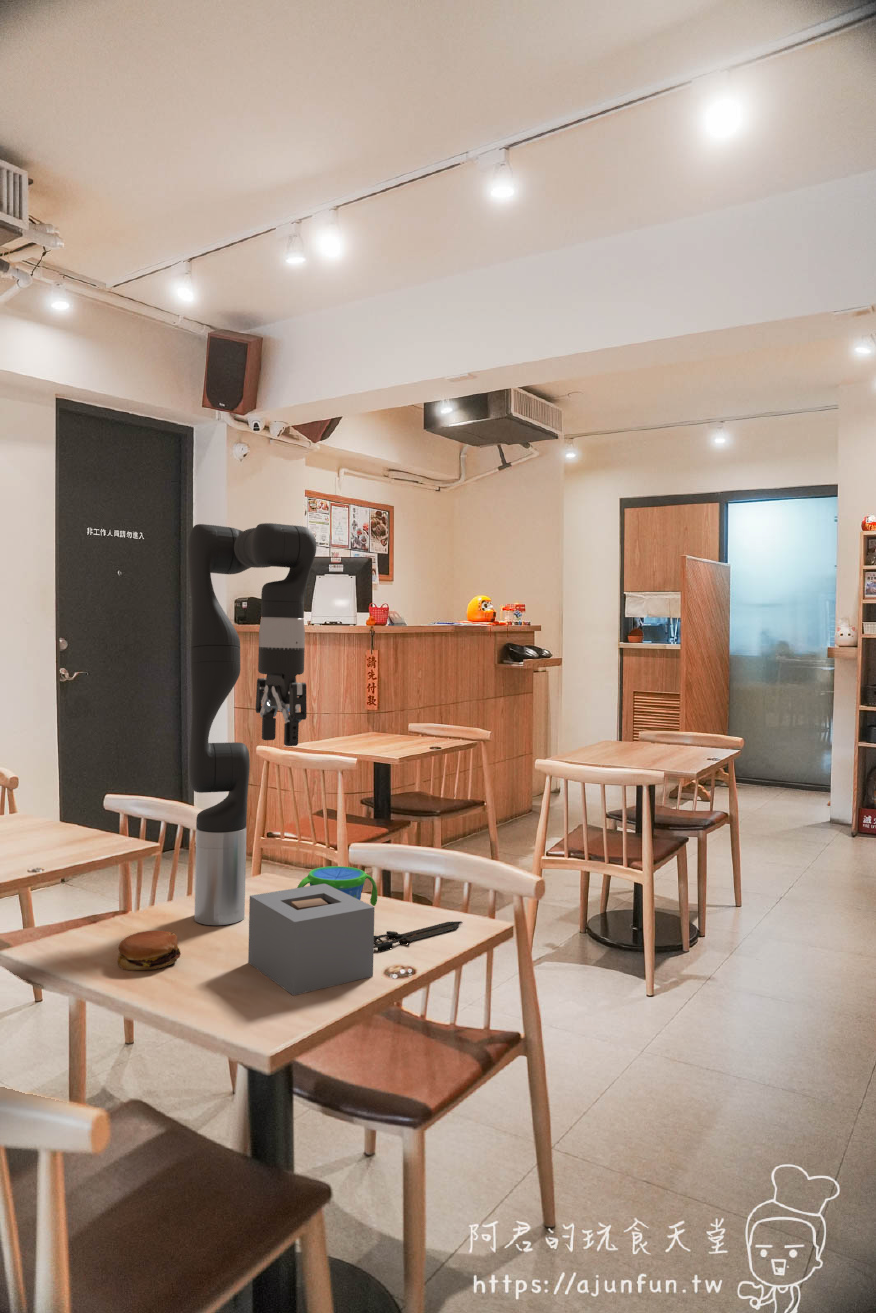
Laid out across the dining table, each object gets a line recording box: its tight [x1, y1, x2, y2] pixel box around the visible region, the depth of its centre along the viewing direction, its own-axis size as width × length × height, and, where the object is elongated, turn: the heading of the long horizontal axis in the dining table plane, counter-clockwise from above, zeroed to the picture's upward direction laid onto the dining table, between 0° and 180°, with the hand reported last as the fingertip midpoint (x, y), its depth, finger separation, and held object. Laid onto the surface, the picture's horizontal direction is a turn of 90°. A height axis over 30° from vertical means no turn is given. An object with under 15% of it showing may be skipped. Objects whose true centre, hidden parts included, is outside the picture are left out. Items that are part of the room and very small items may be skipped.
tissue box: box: [247, 884, 375, 996], centre depth 142 cm, size 16×14×11 cm
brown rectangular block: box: [291, 898, 328, 910], centre depth 141 cm, size 4×5×10 cm
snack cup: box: [296, 865, 379, 907], centre depth 163 cm, size 16×10×10 cm
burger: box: [117, 930, 182, 971], centre depth 144 cm, size 10×9×5 cm
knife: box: [374, 920, 464, 953], centre depth 159 cm, size 25×6×1 cm, turn 126°
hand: (279, 742), depth 147 cm, fingers open, 8 cm apart
